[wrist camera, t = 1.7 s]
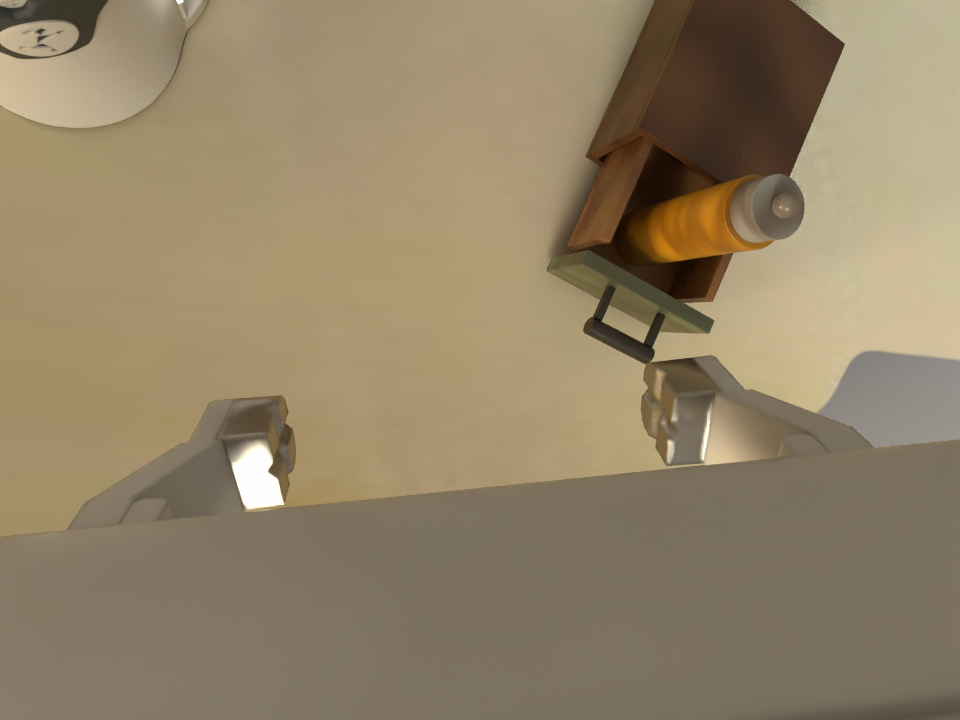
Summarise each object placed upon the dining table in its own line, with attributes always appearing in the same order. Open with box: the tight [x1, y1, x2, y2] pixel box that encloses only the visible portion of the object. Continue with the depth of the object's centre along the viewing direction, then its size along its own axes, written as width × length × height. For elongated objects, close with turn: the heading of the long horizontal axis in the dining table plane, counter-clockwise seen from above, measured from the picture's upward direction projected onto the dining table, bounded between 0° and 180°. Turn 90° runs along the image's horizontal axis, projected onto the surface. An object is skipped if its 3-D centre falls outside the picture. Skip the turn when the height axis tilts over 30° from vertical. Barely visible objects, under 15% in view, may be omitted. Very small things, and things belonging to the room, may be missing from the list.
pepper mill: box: [615, 174, 804, 267], centre depth 45 cm, size 5×5×17 cm
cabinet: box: [586, 0, 845, 185], centre depth 52 cm, size 16×14×9 cm
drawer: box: [547, 136, 733, 364], centre depth 51 cm, size 19×12×7 cm, turn 155°
